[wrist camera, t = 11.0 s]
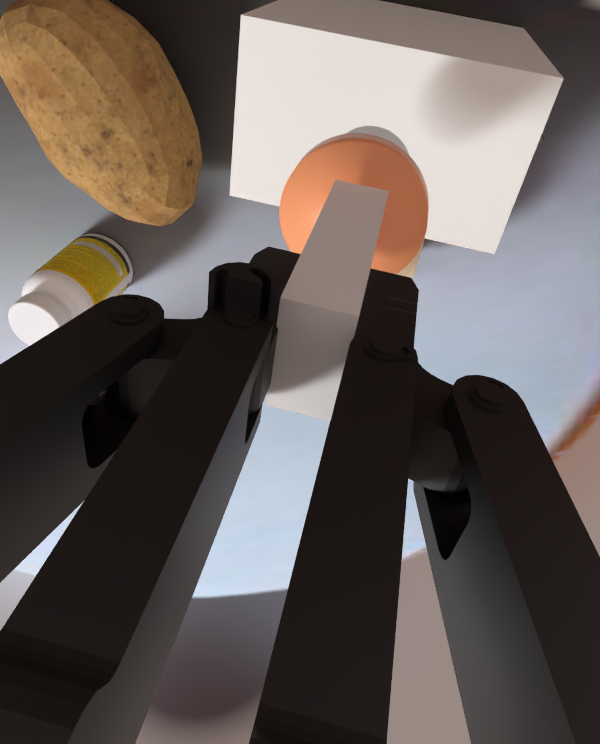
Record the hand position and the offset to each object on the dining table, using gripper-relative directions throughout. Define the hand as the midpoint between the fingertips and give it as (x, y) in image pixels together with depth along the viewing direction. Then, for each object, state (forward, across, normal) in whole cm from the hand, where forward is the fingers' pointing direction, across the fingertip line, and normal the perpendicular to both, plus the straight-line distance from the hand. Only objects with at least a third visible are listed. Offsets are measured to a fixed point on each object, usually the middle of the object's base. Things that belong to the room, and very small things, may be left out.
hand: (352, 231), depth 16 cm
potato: (+23, -17, -4) cm, 29 cm away
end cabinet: (+23, 0, 0) cm, 23 cm away
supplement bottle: (+23, -20, -18) cm, 35 cm away
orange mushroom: (+6, 0, 0) cm, 6 cm away
